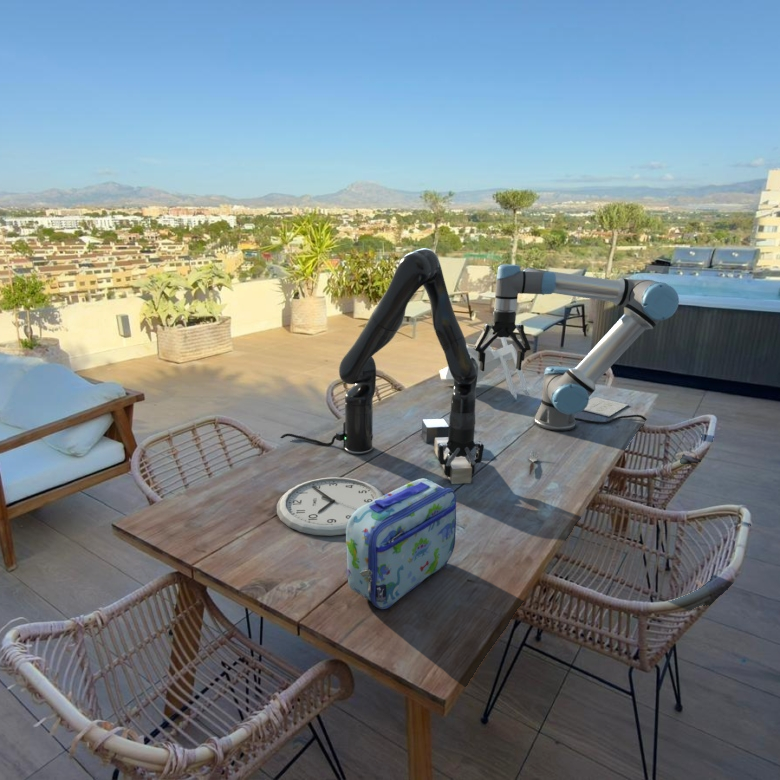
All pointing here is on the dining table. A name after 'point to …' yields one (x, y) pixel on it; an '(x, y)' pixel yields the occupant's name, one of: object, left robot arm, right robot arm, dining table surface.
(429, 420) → the slate block
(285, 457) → the dining table surface
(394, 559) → the lunch box
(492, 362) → the white plastic object
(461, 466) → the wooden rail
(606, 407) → the invitation card
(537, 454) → the fork
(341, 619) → the dining table surface
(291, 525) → the wall clock
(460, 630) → the dining table surface
